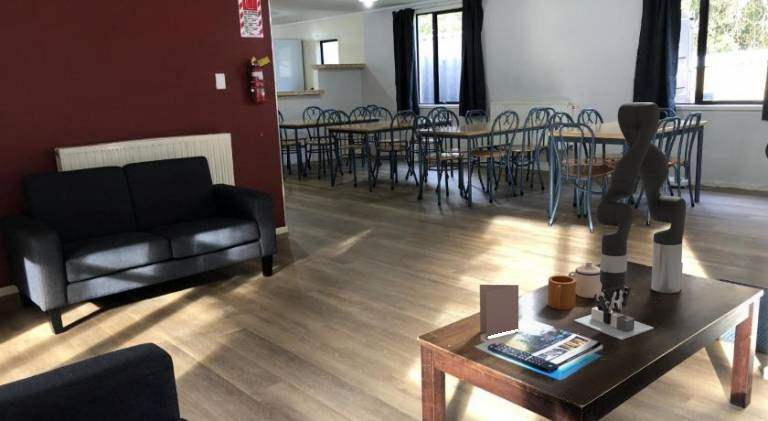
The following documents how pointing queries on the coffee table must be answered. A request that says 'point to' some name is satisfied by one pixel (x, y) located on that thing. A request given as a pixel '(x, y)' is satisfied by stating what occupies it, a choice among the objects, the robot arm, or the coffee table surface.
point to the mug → (561, 292)
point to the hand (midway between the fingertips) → (611, 322)
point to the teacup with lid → (587, 280)
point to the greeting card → (499, 308)
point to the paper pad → (613, 328)
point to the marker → (615, 319)
